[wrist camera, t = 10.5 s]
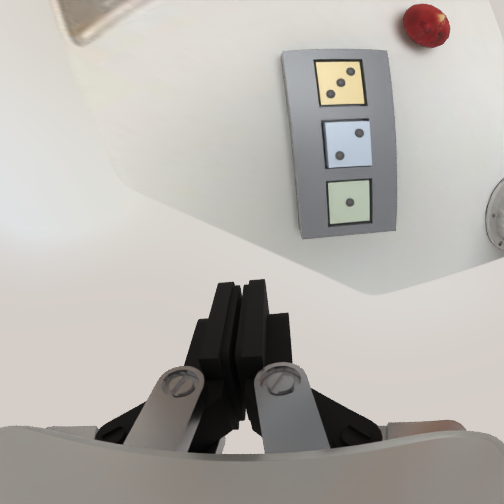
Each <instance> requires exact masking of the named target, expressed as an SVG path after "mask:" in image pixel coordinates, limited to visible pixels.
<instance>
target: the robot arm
mask: <svg viewBox="0 0 504 504" xmlns="http://www.w3.org/2000/svg"><path fill="white" fill-rule="evenodd" d="M486 227H487V232H488V236H489V238H490V240H491V242H492V243H493V244H494V245H495V246H496V247H498V248H499V249H501V250H504V180H503V181H502V182H500V183H499V185H498V186H497V187H496V189H495V190H494V192H493V194H492V196H491V199H490V201H489V205H488V208H487V215H486ZM246 410H247V414H248V418H249V420H250V421H251V425H252V429H253V430H254V431H255V432H256V433H257V434H259V435H260V436H261V437H262V438H263V445H264V450H265V454H222V451H223V448H224V445H225V435H227V434H228V433H229V432H231V431H232V430H236V429H237V430H238V429H239V421H243V420H245V412H246ZM0 504H504V444H503V442H502V441H500V440H499V439H498V438H496V437H494V436H492V435H489V434H486V433H481V432H474V431H466V429H465V428H464V427H463V426H462V425H461V424H460V423H458V422H456V421H453V420H440V421H424V422H399V423H398V422H397V423H396V422H395V423H388V425H387V426H377V425H376V424H375V423H373V422H372V421H371V420H369V419H367V418H365V417H363V416H361V415H359V414H357V413H355V412H353V411H352V410H350V409H348V408H346V407H344V406H342V405H341V404H339V403H337V402H335V401H333V400H331V399H330V398H328V397H326V396H324V395H322V394H321V393H319V392H317V391H315V390H314V389H312V388H311V387H310V385H309V381H308V378H307V375H306V374H305V372H304V370H303V369H302V368H300V367H299V366H297V365H295V364H292V350H291V338H290V326H289V314H288V313H279V314H269V309H268V300H267V292H266V285H265V279H260V280H250V281H249V284H248V285H244V287H243V295H242V294H241V288H240V285H236V286H235V284H234V282H225V283H218V286H217V289H216V293H215V297H214V300H213V304H212V308H211V312H210V315H209V318H208V319H199V320H198V322H197V325H196V328H195V331H194V334H193V338H192V341H191V344H190V348H189V351H188V354H187V357H186V361H185V364H184V366H180V367H176V368H173V369H171V370H168V371H167V372H165V373H164V374H163V375H162V376H161V377H160V378H159V380H158V381H157V383H156V385H155V387H154V389H153V390H152V393H151V394H150V396H149V398H148V400H147V401H146V402H144V403H142V404H140V405H139V406H137V407H135V408H133V409H132V410H130V411H128V412H126V413H124V414H123V415H121V416H119V417H117V418H115V419H114V420H112V421H110V422H108V423H106V424H105V425H103V426H102V427H101V428H100V429H98V428H97V426H82V427H81V426H79V427H78V426H77V427H54V426H53V427H47V428H46V429H44V428H38V427H31V426H8V427H2V428H0Z"/></svg>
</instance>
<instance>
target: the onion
mask: <svg viewBox="0 0 504 504" xmlns="http://www.w3.org/2000/svg"><path fill="white" fill-rule="evenodd" d="M403 21H404V28H405V30H406V32H407V34H408V35H409V37H410V38H411V39H412V40H413V41H415V42H416V43H418V44H419V45H421V46H424V47H429V48H434V47H437V46H440V45H442V44H444V42H445V41H446V40H447V38H448V37H449V33H450V25H449V21H448V19H447V17H446V15H445V14H443V13H442V12H441V11H440V10H439V9H437V8H436V7H434V6H432V5H428V4H417V5H413V6H411V7H410V8H409V9H408V10H406V12H405V15H404V18H403Z"/></svg>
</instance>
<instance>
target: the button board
mask: <svg viewBox="0 0 504 504" xmlns="http://www.w3.org/2000/svg"><path fill="white" fill-rule="evenodd" d="M281 61H282V68H283V75H284V83H285V91H286V98H287V106H288V115H289V123H290V132H291V141H292V151H293V160H294V170H295V181H296V192H297V203H298V216H299V228H300V233H301V236H302V239H310V238H321V237H332V236H342V235H353V234H364V233H375V232H386V231H396V214H397V156H396V133H395V117H394V105H393V94H392V85H391V76H390V68H389V61H388V54H387V51H384V50H365V49H311V50H292V51H282V54H281ZM316 62H359V63H360V70H361V78H362V86H363V96H364V104H341V105H319V101H318V93H317V84H316V77H315V69H314V64H315V63H316ZM337 121H369V122H370V136H371V154H372V165H371V166H351V167H335V168H329V167H327V166H326V162H325V149H324V138H323V127H322V122H337ZM351 179H368V180H369V197H370V221H358V222H347V223H335V224H330V223H329V221H328V212H327V194H326V181H336V180H351Z"/></svg>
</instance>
